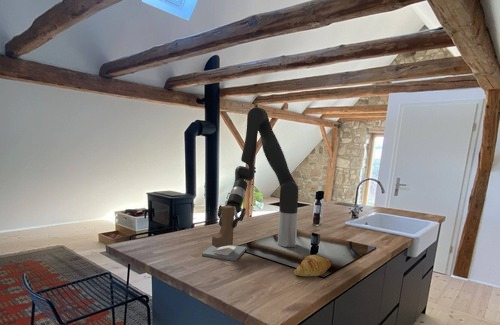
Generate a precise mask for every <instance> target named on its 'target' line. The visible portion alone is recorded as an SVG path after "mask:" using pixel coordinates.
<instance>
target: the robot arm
mask: <svg viewBox="0 0 500 325" xmlns="http://www.w3.org/2000/svg"><path fill="white" fill-rule="evenodd" d="M246 116H247V117H246V130H245V139H244V143H243V144H244V145H243V149H242V154H241V160H240V161H241V162H242V163H245V165H247V166H248V167H247V166H244V165H238V166H236V168H235V169H234V170H235V171H234V183H233V184H232V185H233V186H232V188H231V190H230V193H229V195H228V198H227V201H226V204H225V205H224V206H232V207H234V208H235V209H234V222H233V225H232V227H233V228H234V229H235V228H236V227H237V226H238V223H239V222H243V220H244V218H245V215H246V213H247V209H246V208H245V207H244V208H242V206H243V202H244V200H245V196H246V195H245V194H246V191H247V190H248V189H247V188H248V182H250V181H252V180H253V179H254V178H255V170H254V168H255V165H254V164H255V159H256V158H255V157H256V153H257V147H258V133H259V135H260V140H261V147H262V150H263V153H264V156H265V158H266V160H267V162H268V164H269V166H270V167H271V169H272V171H273V172H274V174H275V176H276V178H277V181H278V184H279V186H280V189H279V203H278V204H279V205H278V206H279V211H278V228H277V229H278V230H277V231H278V232H277V236H278V237H277V245H278V246H280V247H284V248H295V247H296V245H297V235H298V231H297V230H298V226H297V225H298V224H297V223H298V222H297V221H298V208H299V205H298V204H299V186H298V183H297V182H296V181H295V179H294V177H293V176H292V173H291V172H290V169H289V166H288V162H287V160H286V156H285V154H284V151H283V149H282V147H281V145H280V142H279V140H278V138H277V137H276V134H275V133H274V130H273V128H272V125H271V121H270V119H269V115H268V113H267V111H266V110H265V109H264V108H263V107H259V106H253V107H251V108H250V109H249V110H248V111H247V115H246ZM222 206H223V205H222V204H221V205H219V206H218V211H217V217H218V225H219V226H220V227H221V217H222ZM239 213H240V214H239ZM238 214H239V216H238Z"/></svg>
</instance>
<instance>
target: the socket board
mask: <svg viewBox="0 0 500 325" xmlns="http://www.w3.org/2000/svg"><path fill="white" fill-rule="evenodd" d="M246 249H247V246H241V245H234V244H233V245H228V246H223V247H218V248H216V247H214V246H213V245H212V244H211V246H210V247H208V248H207V249H205V250H204V251H203V252H202V253H201V256H202V257H207V258H213V259H219V260H226V261H231V262H237V260H238V259H240V257H241V256H242V255H243V254H244V253H245V252H246V251H247V250H246ZM245 250H246V251H245Z"/></svg>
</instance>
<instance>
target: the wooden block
mask: <svg viewBox="0 0 500 325" xmlns="http://www.w3.org/2000/svg"><path fill="white" fill-rule="evenodd" d="M221 206H222V217H221V226H220V229H219V231H218V232H217V233H216V234H214V235H212V236H211V246H212V245H213V246H214V247H216V248H218V247H223V246H228V245H234V229H235V228H233V227H232V225H233V222H234V219H235V215H234V209H235V208H234V207H232V206H225V205H221Z"/></svg>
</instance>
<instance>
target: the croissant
mask: <svg viewBox="0 0 500 325" xmlns="http://www.w3.org/2000/svg"><path fill="white" fill-rule="evenodd" d="M332 262H333V261H332V259H330V258H324V257H323V256H322V255H318V254H312V255H311V254H310V255H306V257H304V259H303V260H301V262H300V263H299V265H297V267H296V268H295V269H294V270H293V274H294V276H299V277H319V276H321V275H323V274H325V273H326V272H327V271H328V270H329V269H330V268H331V266H332Z"/></svg>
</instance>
